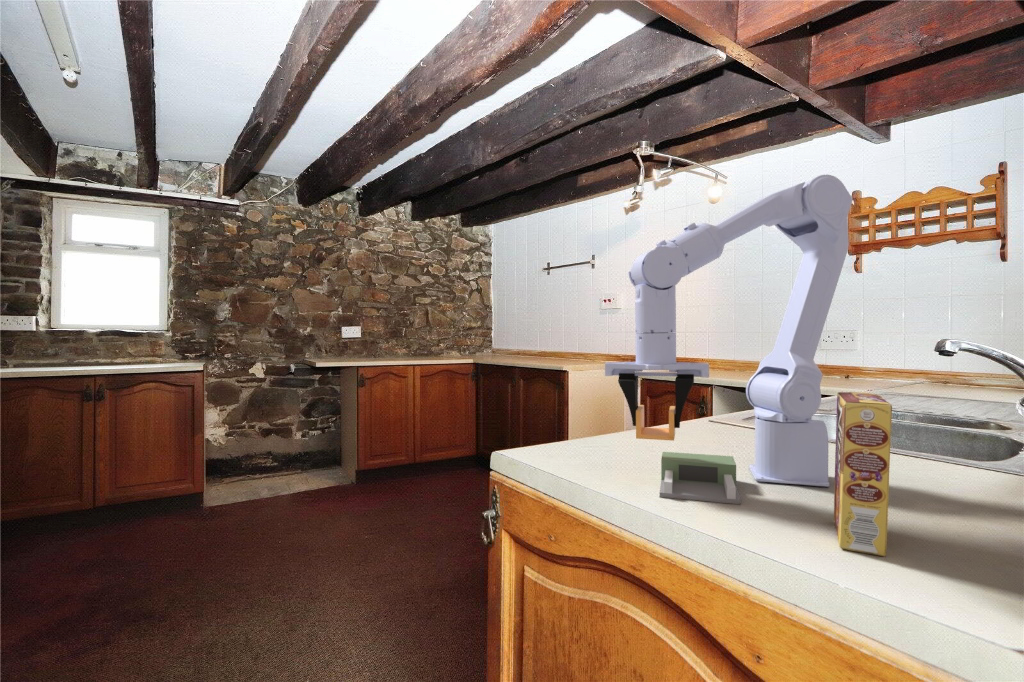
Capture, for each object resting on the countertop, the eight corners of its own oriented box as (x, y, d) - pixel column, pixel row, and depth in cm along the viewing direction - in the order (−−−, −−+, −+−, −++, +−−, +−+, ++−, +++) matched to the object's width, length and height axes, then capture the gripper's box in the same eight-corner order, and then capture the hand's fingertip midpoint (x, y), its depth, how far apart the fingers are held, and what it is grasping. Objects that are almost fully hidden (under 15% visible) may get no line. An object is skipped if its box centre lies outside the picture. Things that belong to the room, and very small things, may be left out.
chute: (675, 432, 77) (675, 406, 77) (674, 440, 72) (674, 412, 72) (639, 430, 79) (639, 404, 79) (636, 438, 74) (635, 410, 73)
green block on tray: (732, 479, 76) (732, 456, 76) (740, 504, 66) (740, 477, 66) (662, 474, 79) (662, 451, 79) (659, 496, 69) (659, 471, 69)
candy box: (891, 559, 50) (893, 403, 50) (839, 550, 52) (840, 400, 52) (878, 527, 58) (879, 392, 58) (833, 520, 60) (834, 390, 60)
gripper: (601, 333, 73) (602, 428, 74) (709, 332, 69) (710, 433, 69) (608, 333, 80) (609, 419, 81) (708, 332, 75) (708, 424, 76)
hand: (656, 425), depth 75 cm, fingers closed on chute, 5 cm apart
